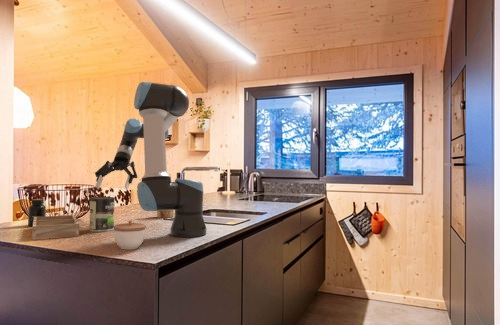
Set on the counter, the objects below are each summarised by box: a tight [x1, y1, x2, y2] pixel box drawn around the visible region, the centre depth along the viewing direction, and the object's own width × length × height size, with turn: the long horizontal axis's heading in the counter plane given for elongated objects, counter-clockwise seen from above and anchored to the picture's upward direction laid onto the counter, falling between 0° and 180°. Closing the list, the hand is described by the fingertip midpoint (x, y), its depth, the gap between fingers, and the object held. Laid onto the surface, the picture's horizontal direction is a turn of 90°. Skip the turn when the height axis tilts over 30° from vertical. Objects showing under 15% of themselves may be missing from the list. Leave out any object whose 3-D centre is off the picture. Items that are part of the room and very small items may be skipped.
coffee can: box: [88, 196, 116, 233], centre depth 158 cm, size 10×10×14 cm
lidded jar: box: [113, 220, 147, 250], centre depth 126 cm, size 11×11×9 cm
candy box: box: [156, 210, 175, 218], centre depth 198 cm, size 9×4×15 cm, turn 103°
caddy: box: [31, 214, 80, 241], centre depth 151 cm, size 26×16×5 cm, turn 30°
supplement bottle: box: [27, 198, 47, 227], centre depth 166 cm, size 7×7×12 cm
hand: (111, 187), depth 169 cm, fingers open, 13 cm apart
